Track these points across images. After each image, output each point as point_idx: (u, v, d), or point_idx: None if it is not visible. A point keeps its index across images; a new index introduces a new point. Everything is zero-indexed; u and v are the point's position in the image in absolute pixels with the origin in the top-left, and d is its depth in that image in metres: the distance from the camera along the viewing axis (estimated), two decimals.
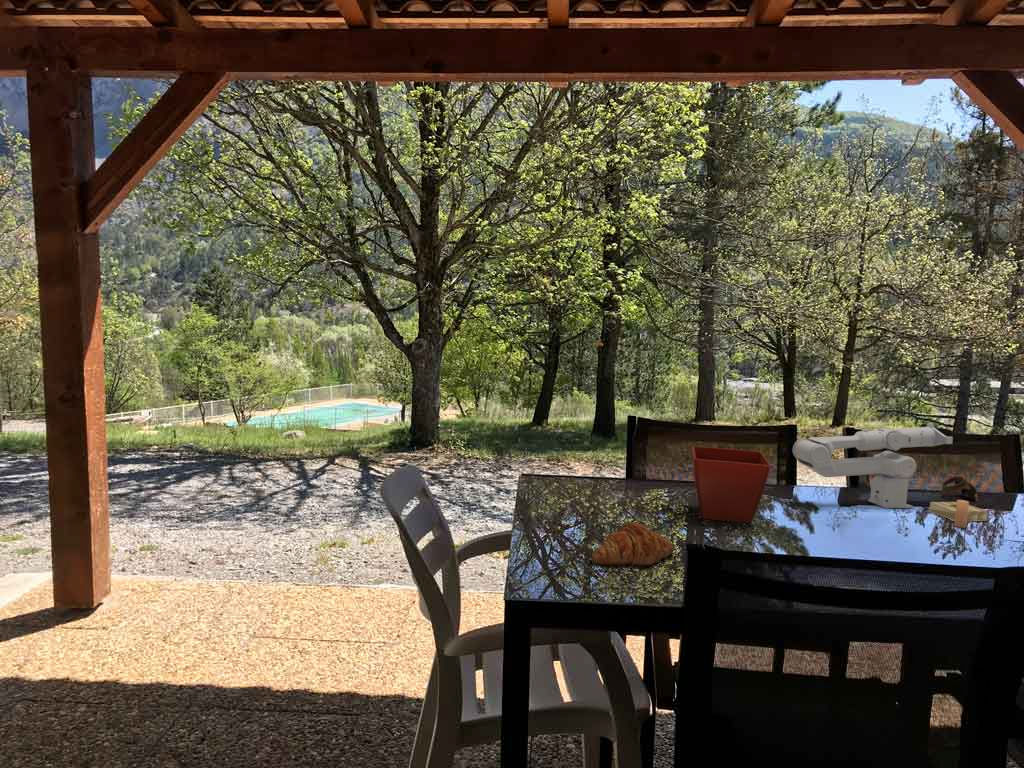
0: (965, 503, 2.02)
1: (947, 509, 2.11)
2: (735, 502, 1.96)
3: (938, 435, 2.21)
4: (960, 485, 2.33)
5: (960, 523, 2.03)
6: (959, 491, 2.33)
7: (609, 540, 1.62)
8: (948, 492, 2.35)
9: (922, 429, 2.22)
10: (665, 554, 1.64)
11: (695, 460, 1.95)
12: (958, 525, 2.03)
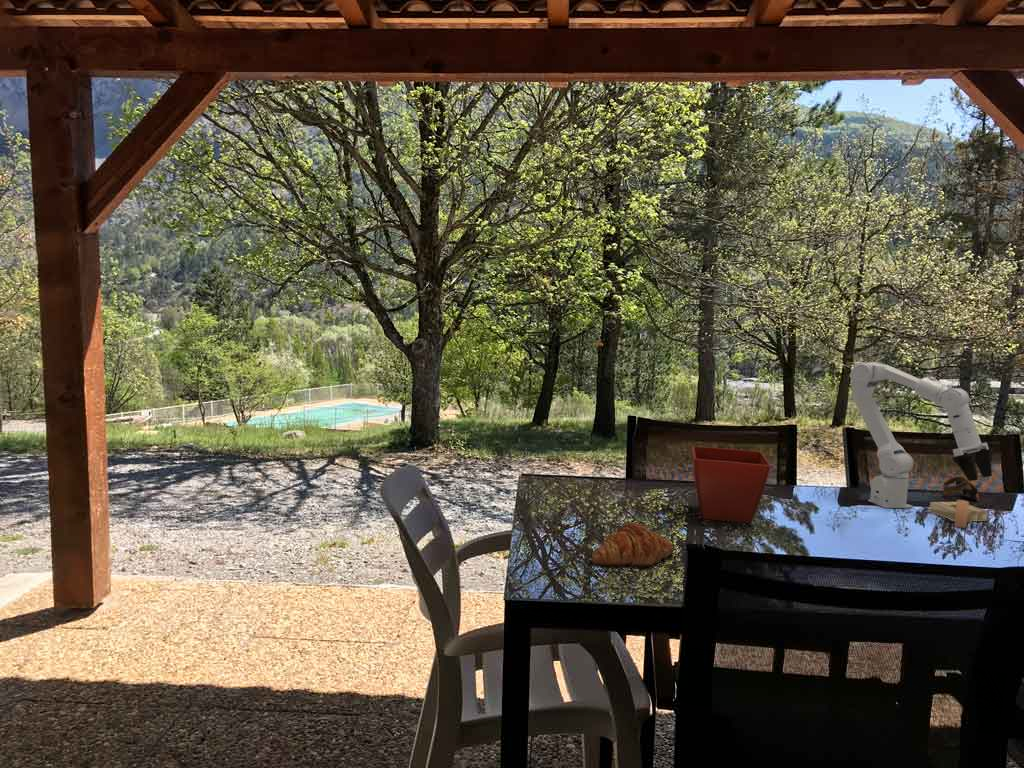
0: (965, 503, 2.02)
1: (947, 509, 2.11)
2: (735, 502, 1.96)
3: None
4: (961, 485, 2.33)
5: (960, 523, 2.03)
6: (960, 491, 2.32)
7: (609, 540, 1.62)
8: (949, 492, 2.35)
9: (972, 432, 2.06)
10: (665, 554, 1.64)
11: (695, 460, 1.95)
12: (958, 525, 2.03)
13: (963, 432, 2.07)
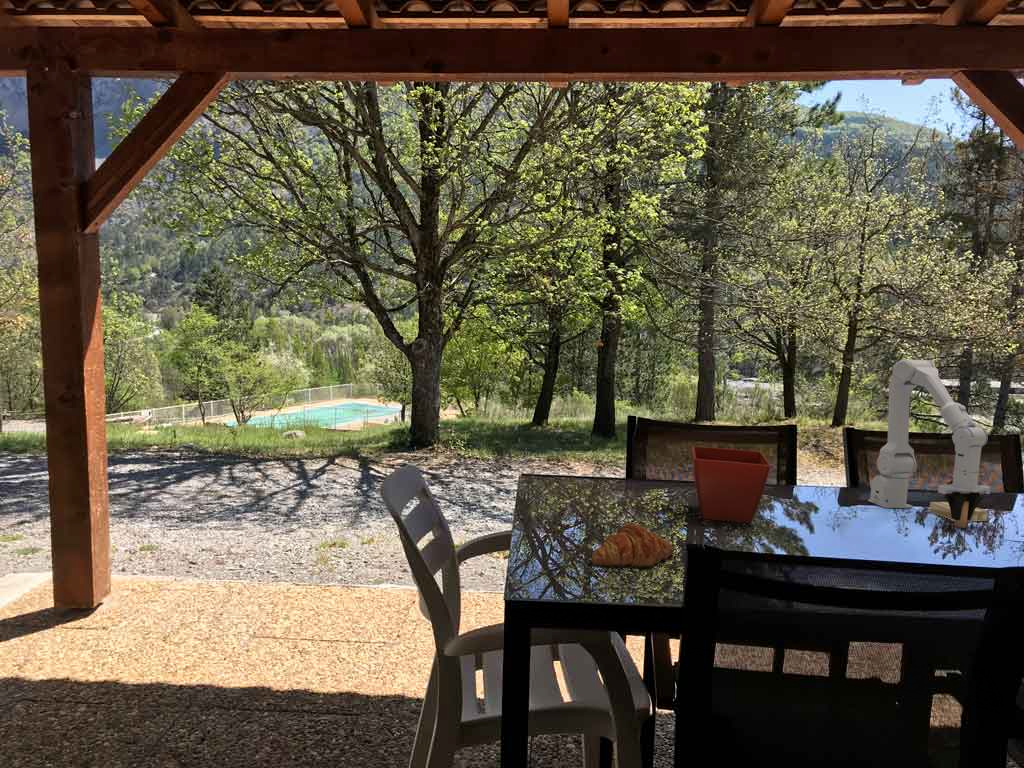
0: (965, 503, 2.02)
1: (947, 509, 2.11)
2: (735, 502, 1.96)
3: None
4: None
5: (960, 523, 2.03)
6: None
7: (609, 541, 1.61)
8: None
9: (968, 476, 2.00)
10: (665, 555, 1.63)
11: (695, 460, 1.95)
12: (958, 525, 2.03)
13: (960, 472, 2.01)
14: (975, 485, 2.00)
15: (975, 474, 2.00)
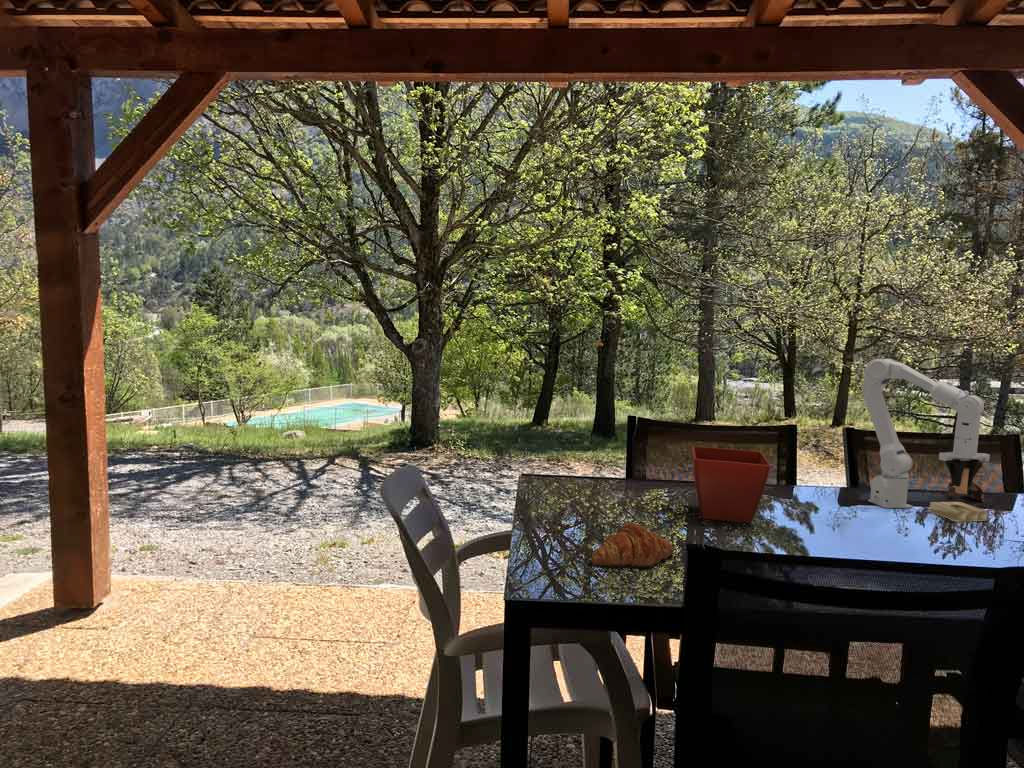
0: (965, 470, 2.10)
1: (947, 509, 2.11)
2: (735, 502, 1.96)
3: None
4: (967, 486, 2.32)
5: (960, 489, 2.10)
6: None
7: (609, 541, 1.61)
8: (955, 493, 2.34)
9: (968, 443, 2.08)
10: (665, 555, 1.63)
11: (695, 460, 1.95)
12: (958, 491, 2.11)
13: (960, 440, 2.09)
14: (975, 452, 2.08)
15: (975, 441, 2.08)
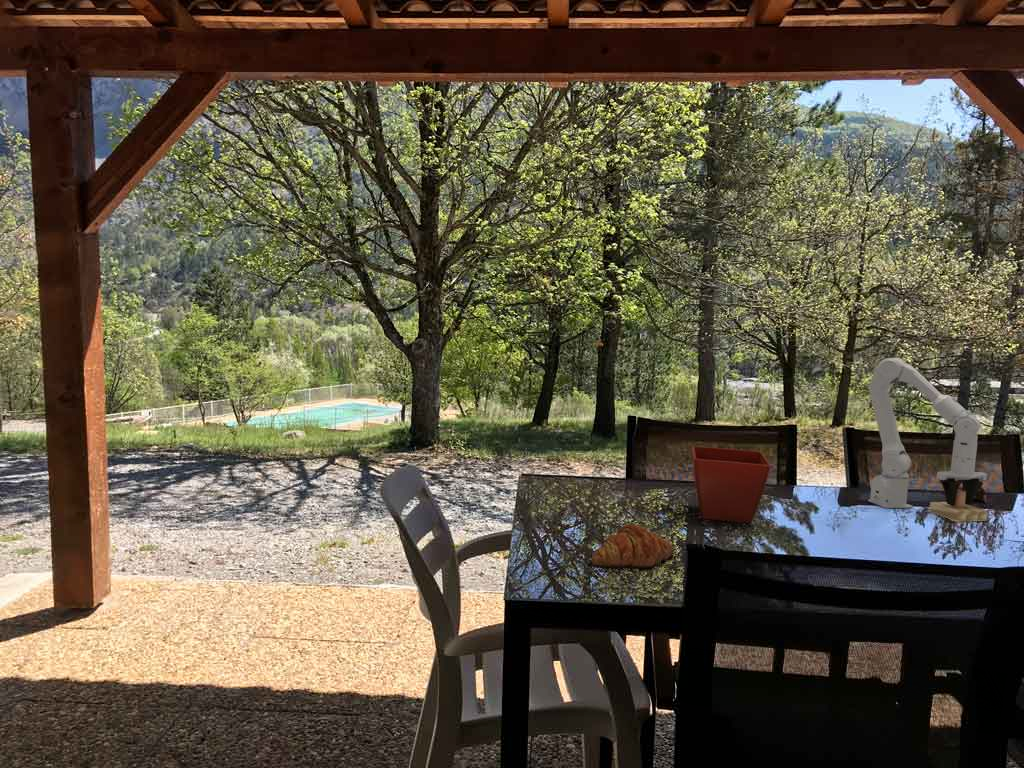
0: (962, 493, 2.12)
1: (947, 509, 2.11)
2: (735, 502, 1.96)
3: None
4: None
5: None
6: None
7: (609, 542, 1.61)
8: None
9: (965, 462, 2.10)
10: (665, 556, 1.63)
11: (695, 460, 1.95)
12: None
13: (957, 459, 2.11)
14: (972, 471, 2.10)
15: (972, 461, 2.10)
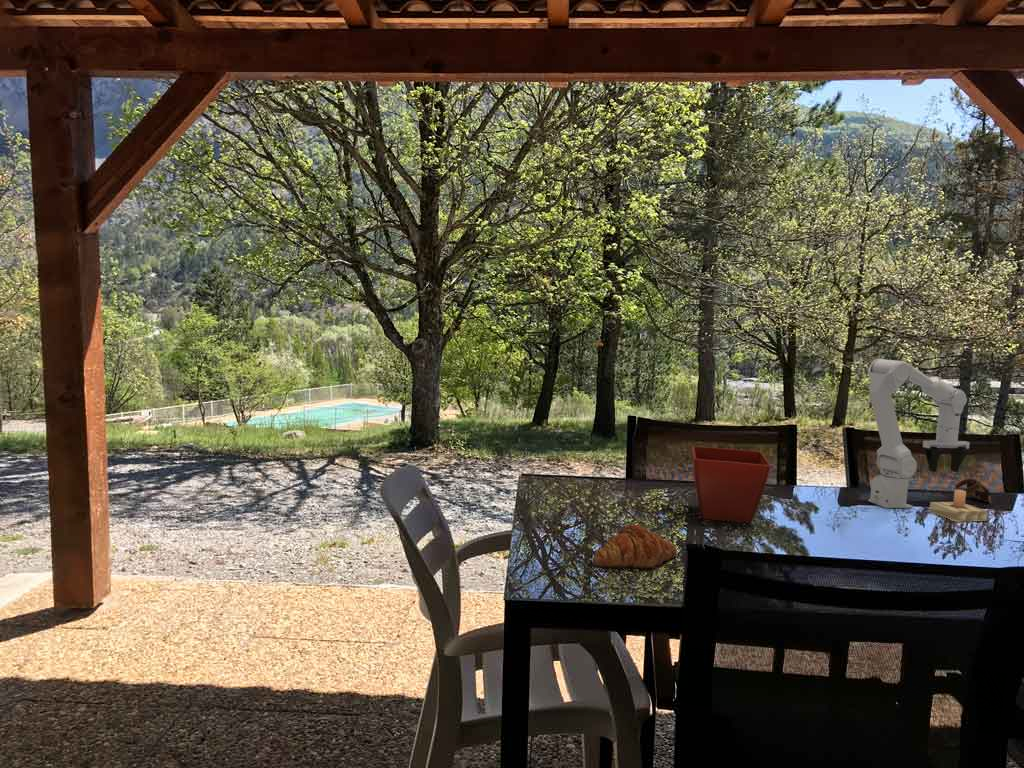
0: (962, 492, 2.12)
1: (947, 509, 2.11)
2: (735, 502, 1.96)
3: None
4: (974, 488, 2.30)
5: None
6: (973, 494, 2.30)
7: (610, 542, 1.60)
8: None
9: (949, 432, 2.25)
10: (667, 557, 1.62)
11: (695, 460, 1.95)
12: None
13: (942, 429, 2.26)
14: (956, 440, 2.25)
15: (956, 430, 2.25)
